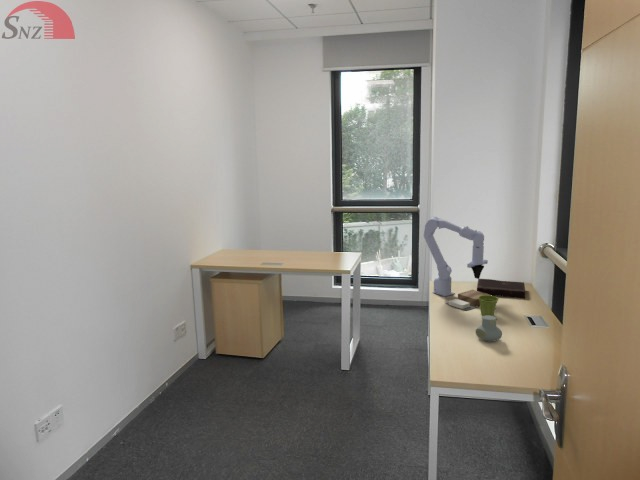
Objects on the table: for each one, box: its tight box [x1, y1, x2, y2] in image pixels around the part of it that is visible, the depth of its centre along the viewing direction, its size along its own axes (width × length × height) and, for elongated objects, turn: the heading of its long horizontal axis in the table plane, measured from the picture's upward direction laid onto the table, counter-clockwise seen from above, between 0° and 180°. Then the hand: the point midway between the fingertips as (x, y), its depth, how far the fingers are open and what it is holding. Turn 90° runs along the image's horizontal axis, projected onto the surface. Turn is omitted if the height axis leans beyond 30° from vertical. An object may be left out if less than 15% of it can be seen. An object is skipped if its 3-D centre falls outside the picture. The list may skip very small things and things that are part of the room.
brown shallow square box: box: [457, 289, 491, 308], centre depth 254 cm, size 12×12×4 cm
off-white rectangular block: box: [448, 298, 470, 310], centre depth 247 cm, size 9×6×2 cm, turn 34°
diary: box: [476, 278, 526, 299], centre depth 269 cm, size 19×25×5 cm
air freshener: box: [475, 315, 503, 343], centre depth 205 cm, size 11×8×10 cm
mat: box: [445, 301, 478, 312], centre depth 248 cm, size 14×8×1 cm, turn 33°
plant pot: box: [478, 295, 499, 317], centre depth 233 cm, size 9×9×9 cm
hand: (476, 278), depth 260 cm, fingers closed
